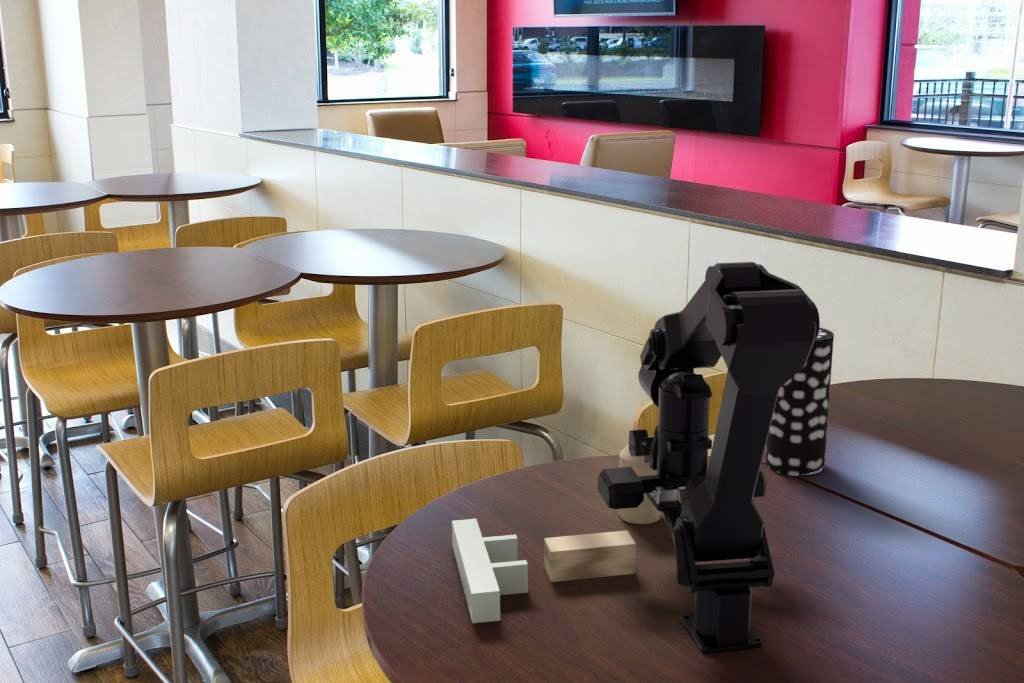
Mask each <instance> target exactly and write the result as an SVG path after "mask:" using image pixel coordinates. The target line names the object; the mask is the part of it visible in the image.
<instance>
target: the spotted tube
mask: <svg viewBox="0 0 1024 683" xmlns="http://www.w3.org/2000/svg"><path fill="white" fill-rule="evenodd" d="M834 338H835V334H834V332H833V331H831V330H829V329H827V328H823V327H819V333H818V337H817V338H816V340H815V341H814V343H813V346H812V348H811V351H810V353H809V356H808V359H807V361H806V364H805V366H804V367H803V368H802V369H801V370H800V371H799V372H798V373H797V374H795V375H794V376H793V377H792V378H791V379H790V380H788V381H787V382H786V383H785V384H784V385H783V386H781V387H780V390H779V393H778V397H777V401H776V405H775V410H774V414H773V418H772V422H771V426H770V430H769V434H768V438H767V442H766V446H765V458H766V464H765V465H766V467H767V468H768V469H770V470H771V471H772V472H776V473H779V474H782V475H787V476H792V477H799V476H798V475H801V474H802V475H803V474H807V473H810V472H814V471H817V470H819V469H820V468H822V467H823V466H824V467H825V465H824V463H825V462H826V451H827V450H826V449H827V448H826V447H827V435H828V423H829V420H828V419H829V411H830V410H829V407H830V395H831V394H830V393H831V381H832V379H831V378H832V366H833V365H832V364H833V352H834Z"/></svg>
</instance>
